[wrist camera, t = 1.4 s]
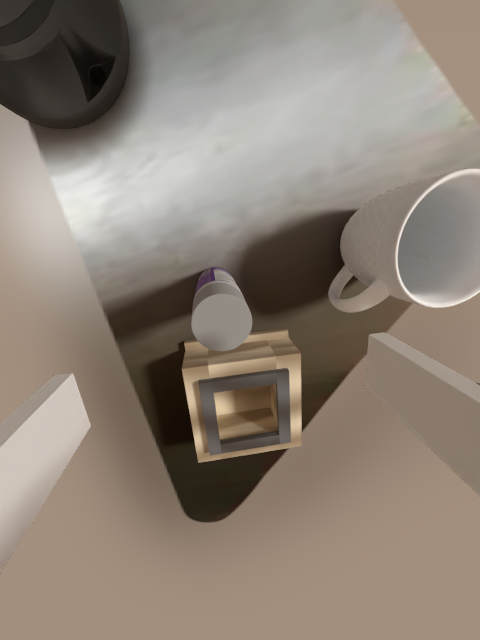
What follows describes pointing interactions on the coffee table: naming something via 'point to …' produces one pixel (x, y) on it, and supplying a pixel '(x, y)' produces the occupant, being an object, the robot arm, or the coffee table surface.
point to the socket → (244, 396)
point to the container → (219, 311)
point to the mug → (414, 244)
